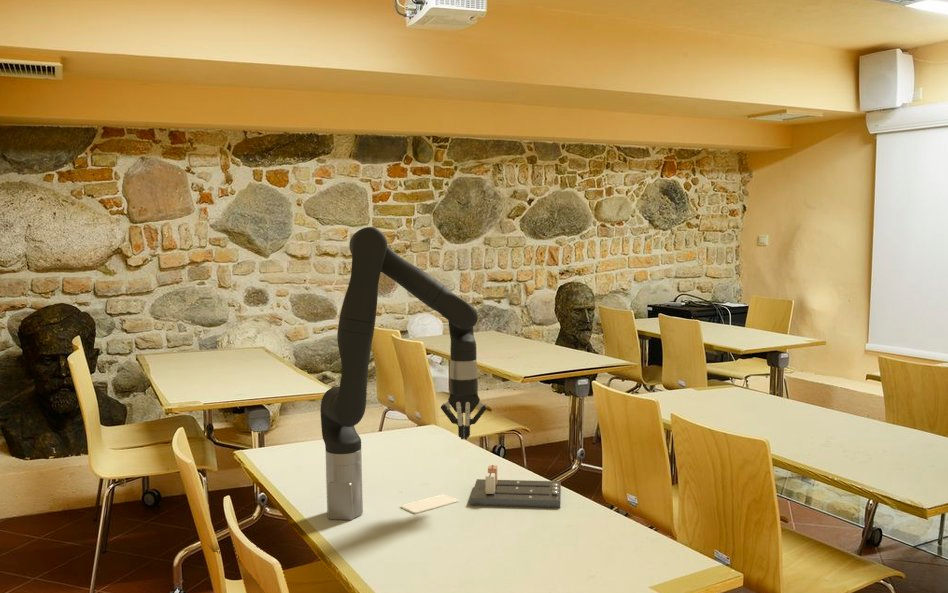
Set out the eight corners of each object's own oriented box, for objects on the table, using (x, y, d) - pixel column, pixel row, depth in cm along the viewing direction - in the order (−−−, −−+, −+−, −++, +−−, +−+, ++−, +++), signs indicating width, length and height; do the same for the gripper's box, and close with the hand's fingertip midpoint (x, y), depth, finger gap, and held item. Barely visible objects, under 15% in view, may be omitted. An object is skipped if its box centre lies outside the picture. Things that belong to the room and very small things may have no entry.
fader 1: (496, 485, 225) (496, 468, 225) (488, 485, 225) (487, 467, 225) (497, 482, 228) (497, 464, 228) (489, 481, 228) (488, 464, 228)
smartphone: (460, 500, 219) (415, 512, 210) (460, 503, 219) (415, 515, 210) (444, 493, 225) (399, 505, 216) (444, 496, 225) (399, 508, 216)
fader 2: (494, 493, 218) (494, 475, 218) (485, 493, 219) (485, 475, 218) (495, 490, 221) (495, 472, 221) (486, 490, 221) (486, 472, 221)
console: (560, 507, 213) (560, 497, 213) (470, 505, 216) (470, 495, 216) (560, 488, 229) (560, 478, 229) (476, 486, 232) (476, 476, 232)
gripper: (437, 378, 215) (438, 442, 216) (486, 378, 213) (487, 443, 215) (441, 373, 222) (442, 434, 224) (489, 373, 221) (490, 435, 222)
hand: (464, 438), depth 219 cm, fingers closed
